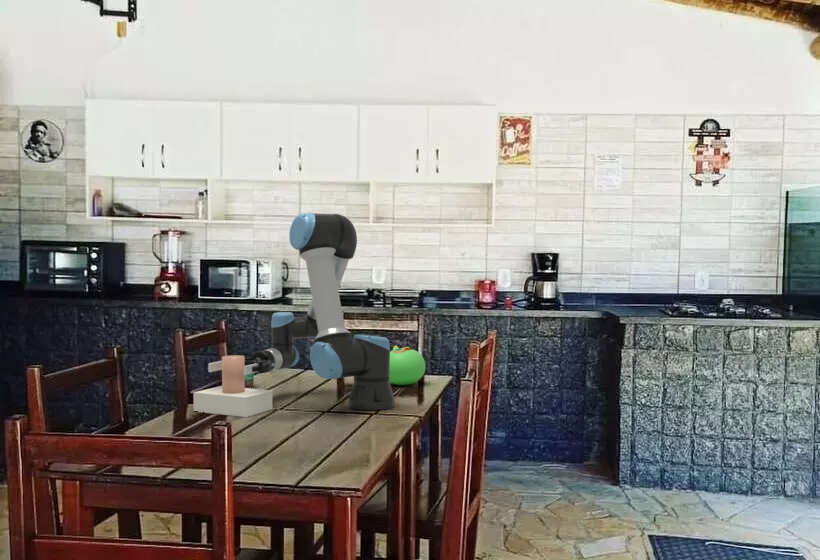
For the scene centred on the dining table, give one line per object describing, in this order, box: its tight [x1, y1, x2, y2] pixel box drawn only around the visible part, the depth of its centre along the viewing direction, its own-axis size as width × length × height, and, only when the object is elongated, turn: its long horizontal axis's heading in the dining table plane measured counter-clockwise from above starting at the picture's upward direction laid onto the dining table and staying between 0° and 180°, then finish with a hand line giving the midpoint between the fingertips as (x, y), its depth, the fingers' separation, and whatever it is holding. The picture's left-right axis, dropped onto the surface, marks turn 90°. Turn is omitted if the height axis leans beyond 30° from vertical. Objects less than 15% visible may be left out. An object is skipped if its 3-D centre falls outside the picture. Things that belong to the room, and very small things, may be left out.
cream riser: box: [193, 385, 273, 418], centre depth 262 cm, size 20×14×6 cm
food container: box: [245, 373, 255, 389], centre depth 305 cm, size 12×6×10 cm, turn 168°
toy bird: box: [390, 345, 426, 386], centre depth 314 cm, size 18×17×15 cm
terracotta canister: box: [221, 354, 246, 393], centre depth 262 cm, size 7×7×11 cm
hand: (226, 369), depth 258 cm, fingers open, 13 cm apart
